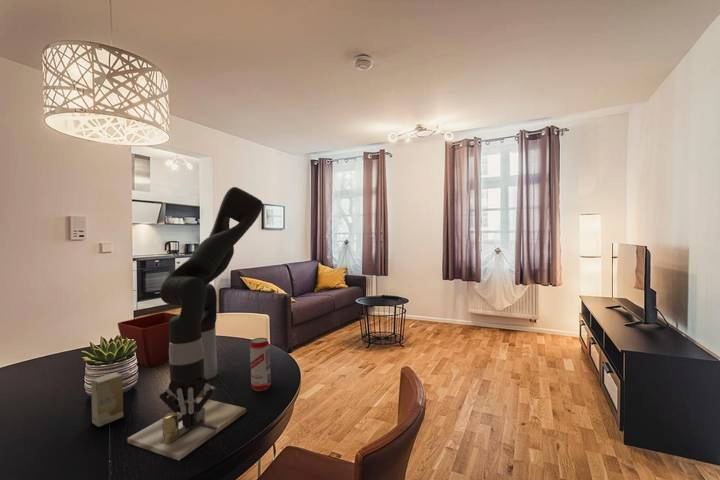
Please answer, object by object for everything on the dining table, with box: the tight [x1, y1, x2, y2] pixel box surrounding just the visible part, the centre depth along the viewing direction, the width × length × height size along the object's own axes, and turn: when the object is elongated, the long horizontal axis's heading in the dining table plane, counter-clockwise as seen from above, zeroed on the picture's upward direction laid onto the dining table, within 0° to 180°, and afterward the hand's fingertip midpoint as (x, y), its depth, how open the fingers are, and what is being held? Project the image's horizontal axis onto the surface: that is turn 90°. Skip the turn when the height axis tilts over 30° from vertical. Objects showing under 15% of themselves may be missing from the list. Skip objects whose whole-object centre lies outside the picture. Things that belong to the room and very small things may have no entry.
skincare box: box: [90, 372, 124, 428], centre depth 96 cm, size 6×4×12 cm
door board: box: [126, 397, 247, 462], centre depth 92 cm, size 18×22×4 cm
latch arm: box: [162, 407, 205, 443], centre depth 87 cm, size 12×4×6 cm, turn 163°
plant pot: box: [117, 312, 178, 368], centre depth 141 cm, size 19×19×17 cm
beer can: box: [249, 337, 272, 392], centre depth 113 cm, size 6×6×16 cm
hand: (189, 426), depth 84 cm, fingers closed
